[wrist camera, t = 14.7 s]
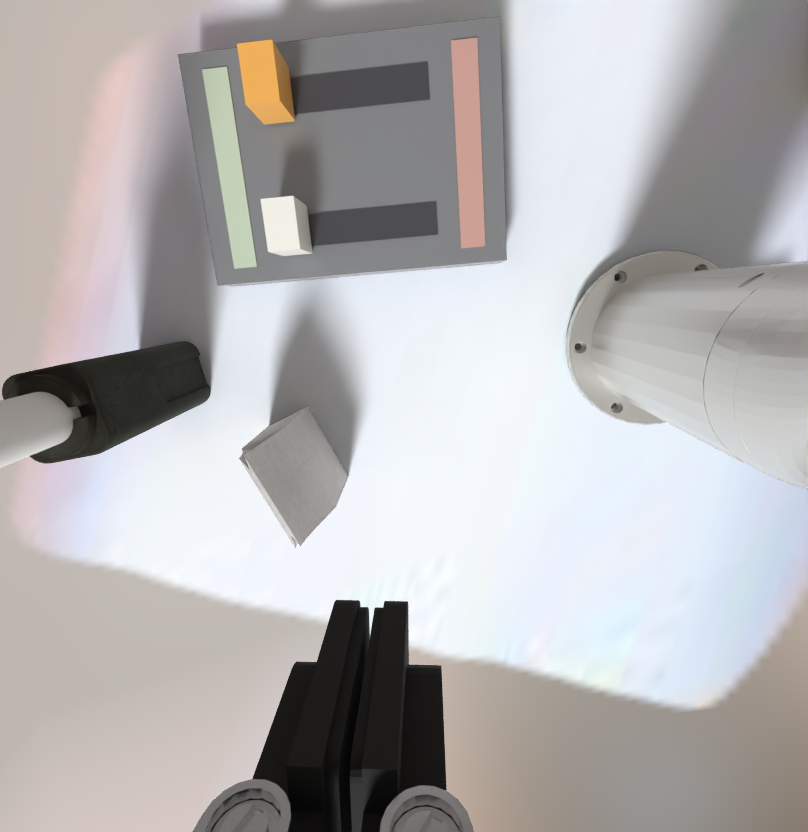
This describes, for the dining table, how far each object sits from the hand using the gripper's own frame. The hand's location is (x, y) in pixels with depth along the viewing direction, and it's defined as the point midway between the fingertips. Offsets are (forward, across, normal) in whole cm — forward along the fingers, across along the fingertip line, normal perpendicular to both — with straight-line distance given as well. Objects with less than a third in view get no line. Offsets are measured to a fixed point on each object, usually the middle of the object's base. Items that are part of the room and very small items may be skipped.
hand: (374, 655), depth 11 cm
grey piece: (+28, +8, +4) cm, 29 cm away
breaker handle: (+24, +8, -20) cm, 33 cm away
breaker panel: (+28, +4, -16) cm, 32 cm away
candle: (+28, +19, -2) cm, 34 cm away
